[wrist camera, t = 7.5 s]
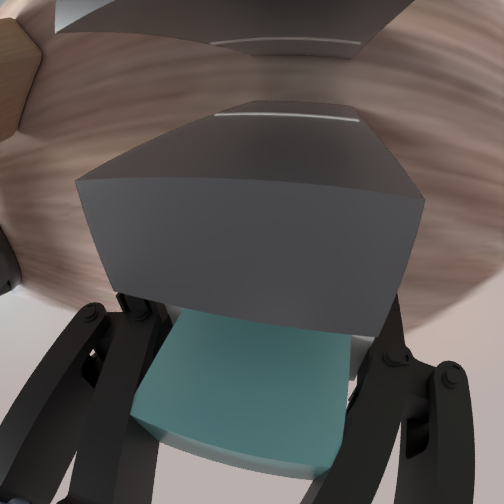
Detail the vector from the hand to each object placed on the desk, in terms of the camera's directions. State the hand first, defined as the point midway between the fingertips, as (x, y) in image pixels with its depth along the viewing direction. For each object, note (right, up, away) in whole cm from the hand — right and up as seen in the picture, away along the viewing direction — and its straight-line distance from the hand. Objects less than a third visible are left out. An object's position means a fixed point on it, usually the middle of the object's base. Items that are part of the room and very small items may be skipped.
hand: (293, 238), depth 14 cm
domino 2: (+1, +6, 0) cm, 6 cm away
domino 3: (0, +1, +1) cm, 2 cm away
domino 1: (0, +10, -3) cm, 11 cm away
